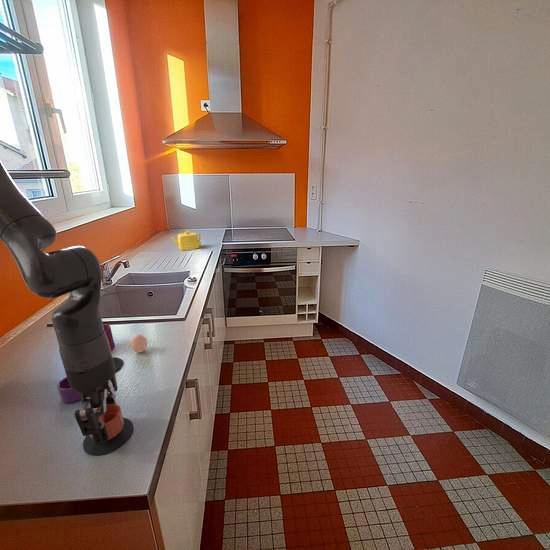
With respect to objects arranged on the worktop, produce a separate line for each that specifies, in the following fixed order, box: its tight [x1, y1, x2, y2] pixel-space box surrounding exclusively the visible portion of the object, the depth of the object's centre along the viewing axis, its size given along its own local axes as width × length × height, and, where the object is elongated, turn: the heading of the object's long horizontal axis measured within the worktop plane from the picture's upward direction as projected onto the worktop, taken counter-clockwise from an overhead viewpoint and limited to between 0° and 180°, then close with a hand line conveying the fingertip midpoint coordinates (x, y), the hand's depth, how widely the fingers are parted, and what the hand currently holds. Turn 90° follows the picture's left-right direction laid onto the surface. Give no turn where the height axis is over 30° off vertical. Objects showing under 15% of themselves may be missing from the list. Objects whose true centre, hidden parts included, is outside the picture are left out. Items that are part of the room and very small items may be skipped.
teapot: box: [170, 230, 202, 251], centre depth 209 cm, size 20×12×12 cm, turn 115°
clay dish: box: [90, 403, 124, 441], centre depth 60 cm, size 6×6×4 cm
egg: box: [130, 333, 148, 354], centre depth 89 cm, size 4×4×6 cm
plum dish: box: [56, 376, 82, 404], centre depth 72 cm, size 6×6×4 cm
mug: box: [103, 323, 116, 351], centre depth 92 cm, size 7×10×7 cm
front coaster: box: [82, 417, 134, 457], centre depth 61 cm, size 9×9×1 cm
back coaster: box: [112, 356, 124, 373], centre depth 82 cm, size 9×9×1 cm
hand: (107, 428), depth 60 cm, fingers closed on clay dish, 6 cm apart
